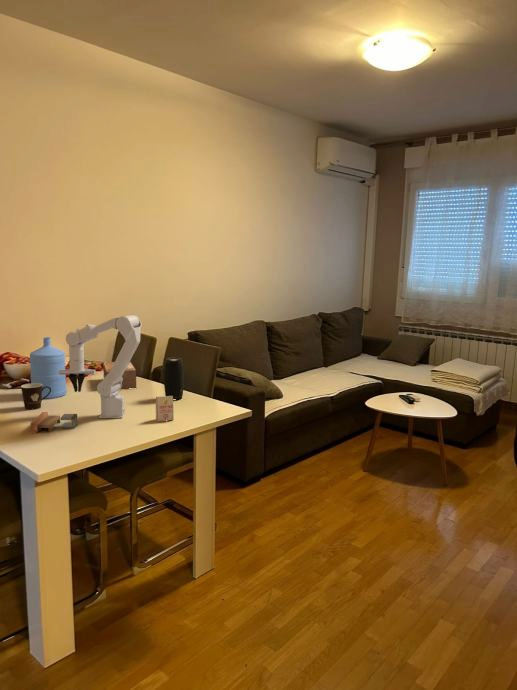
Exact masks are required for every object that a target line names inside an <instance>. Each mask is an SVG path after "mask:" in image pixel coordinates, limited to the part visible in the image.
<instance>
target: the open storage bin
mask: <svg viewBox="0 0 517 690" xmlns="http://www.w3.org/2000/svg"><path fill="white" fill-rule="evenodd" d="M60 421H71V422H63V423H62V424H61V426H60V429H61V430H73V429H74V430H75V429H76V428H75V427H77V426H78V423H79V422H78V421H79V420H78V413H64V414H63V415H62V416H60Z"/></svg>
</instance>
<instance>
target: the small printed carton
mask: <svg viewBox="0 0 517 690" xmlns="http://www.w3.org/2000/svg"><path fill="white" fill-rule="evenodd" d="M156 420H157V421H164V422H167V421H166V420H174V400H173V396H155V421H156ZM157 421H156V422H157Z"/></svg>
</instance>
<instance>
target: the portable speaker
mask: <svg viewBox="0 0 517 690" xmlns="http://www.w3.org/2000/svg"><path fill="white" fill-rule="evenodd" d="M184 368H185V367H184V364H183V359H182V358H180V357H177V356H176V357H175V356H171V357H168V358H165V361H164V368H163V386H164V395H165V396H173V399H177V400H178V399H181V398H182V399H183V395H184V389H185V369H184Z"/></svg>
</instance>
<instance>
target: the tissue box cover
mask: <svg viewBox="0 0 517 690" xmlns="http://www.w3.org/2000/svg"><path fill="white" fill-rule="evenodd" d="M114 362H115V361H110V362H109V361H107V362H105V361H104V362H103V363H102V365H103V366H102V369H103V378H104V377H105V376H106V375H107V374H108V373H109V372H110V370H111V368H112V366H113V364H114ZM122 378H123V380H122V383H121V389H124V390H130V389H129V388H136V389H137V369H136V368H135V366H134V365H133V363H132V362H131V361H130V362H129V364H128V366H127V368H126V370H125V371H124V373H123V375H122Z"/></svg>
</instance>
